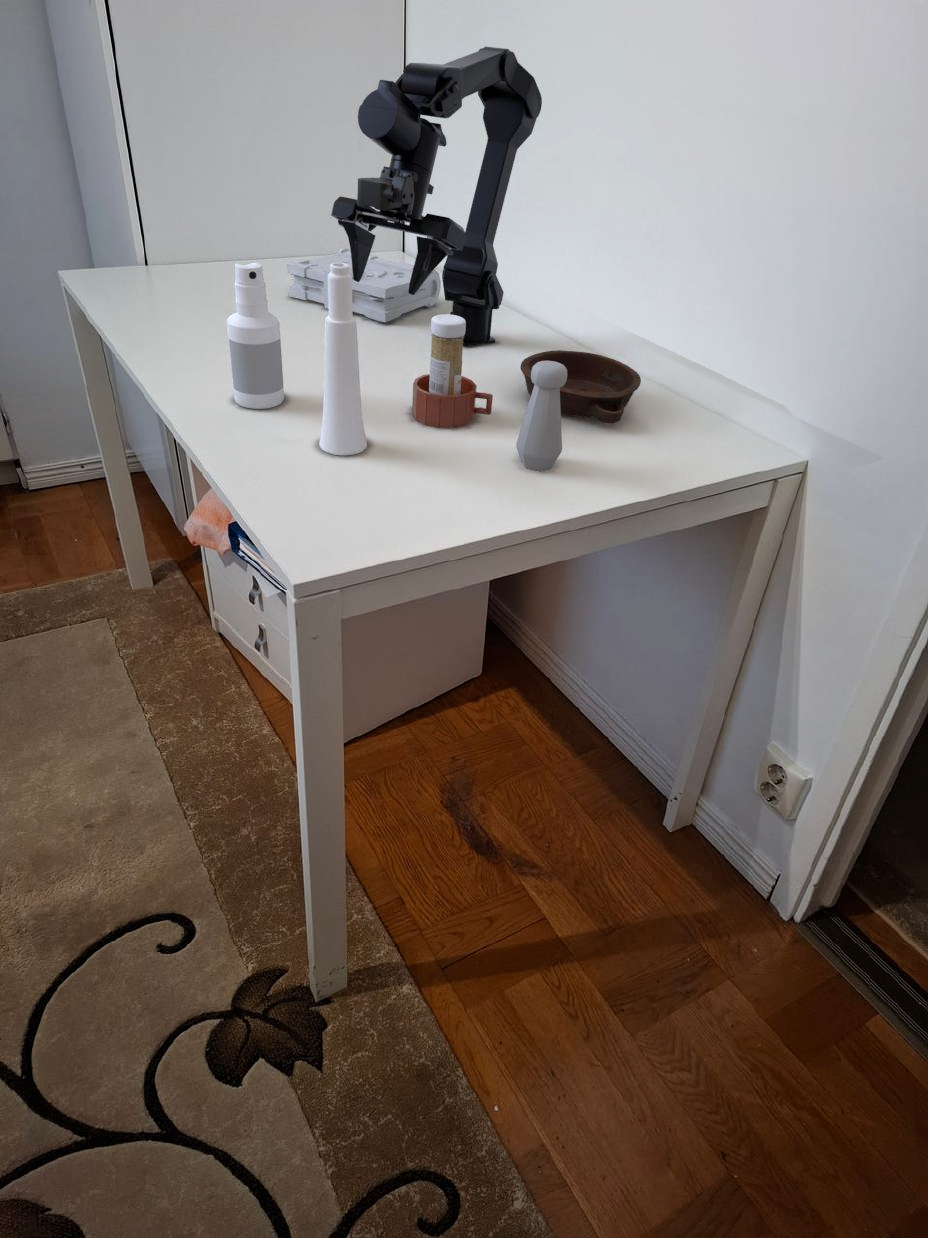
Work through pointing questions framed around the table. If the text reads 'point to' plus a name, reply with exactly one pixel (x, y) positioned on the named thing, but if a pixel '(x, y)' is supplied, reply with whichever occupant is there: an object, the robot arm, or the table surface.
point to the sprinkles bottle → (446, 354)
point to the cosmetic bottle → (341, 370)
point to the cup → (447, 404)
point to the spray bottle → (254, 343)
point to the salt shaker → (542, 418)
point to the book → (365, 285)
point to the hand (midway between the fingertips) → (383, 287)
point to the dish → (589, 383)
